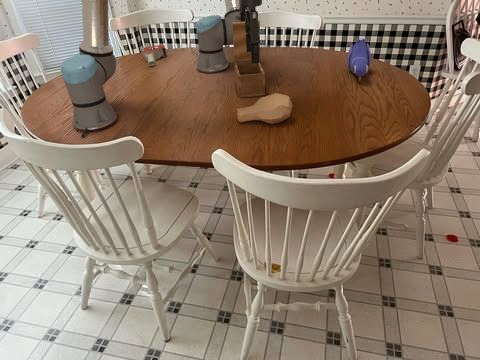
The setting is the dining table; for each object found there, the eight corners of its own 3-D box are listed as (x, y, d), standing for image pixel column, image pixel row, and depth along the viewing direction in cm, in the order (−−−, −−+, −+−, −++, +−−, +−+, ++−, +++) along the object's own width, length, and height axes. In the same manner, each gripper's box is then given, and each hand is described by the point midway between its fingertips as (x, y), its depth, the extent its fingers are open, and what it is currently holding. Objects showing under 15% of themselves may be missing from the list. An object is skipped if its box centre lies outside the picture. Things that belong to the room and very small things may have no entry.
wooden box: (265, 95, 146) (264, 73, 140) (239, 97, 145) (238, 76, 140) (259, 80, 159) (258, 60, 154) (235, 82, 159) (234, 62, 153)
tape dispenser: (152, 70, 182) (177, 56, 195) (150, 60, 179) (175, 46, 191) (127, 64, 190) (153, 51, 202) (125, 54, 186) (151, 41, 199)
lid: (259, 21, 139) (256, 10, 144) (232, 23, 139) (230, 12, 144) (258, 59, 153) (255, 48, 158) (234, 61, 153) (232, 50, 158)
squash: (296, 124, 124) (294, 103, 117) (239, 134, 126) (235, 113, 119) (291, 106, 131) (289, 85, 125) (238, 116, 133) (233, 96, 127)
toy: (345, 75, 169) (348, 84, 147) (347, 38, 162) (351, 41, 140) (367, 75, 167) (373, 84, 145) (370, 36, 160) (377, 40, 138)
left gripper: (268, -3, 108) (268, 67, 120) (256, -14, 128) (257, 46, 141) (244, -1, 107) (246, 69, 120) (235, -13, 128) (238, 48, 140)
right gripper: (254, -35, 129) (255, 33, 143) (249, -38, 141) (251, 25, 154) (233, -33, 128) (237, 35, 142) (230, -37, 140) (234, 26, 154)
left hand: (252, 57), depth 130 cm, fingers open, 13 cm apart
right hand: (244, 29), depth 148 cm, fingers closed on lid, 2 cm apart
